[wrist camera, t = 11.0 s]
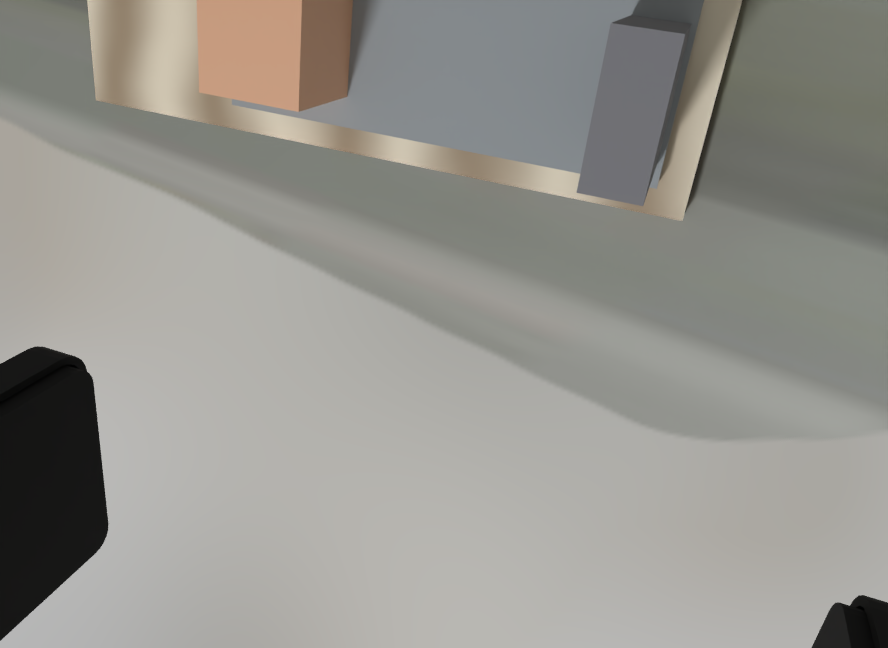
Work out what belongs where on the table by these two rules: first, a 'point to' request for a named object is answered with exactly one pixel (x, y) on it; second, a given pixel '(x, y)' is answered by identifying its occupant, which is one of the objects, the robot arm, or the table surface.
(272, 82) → the cube
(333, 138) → the board
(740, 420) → the table surface
